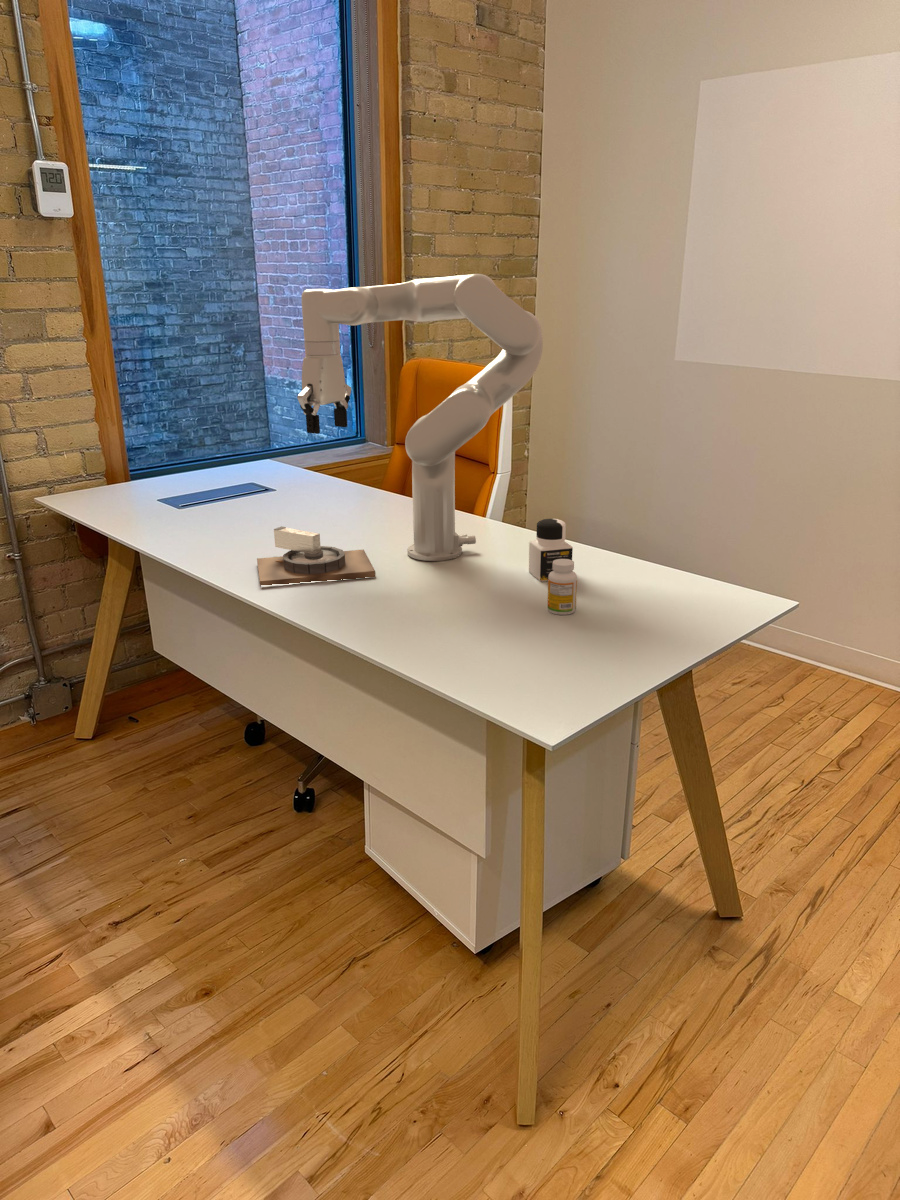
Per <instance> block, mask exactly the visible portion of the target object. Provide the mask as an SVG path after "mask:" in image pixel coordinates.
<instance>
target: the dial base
mask: <svg viewBox="0 0 900 1200" xmlns="http://www.w3.org/2000/svg"><path fill="white" fill-rule="evenodd" d="M320 546H321V550H328V551H332V552H335V553H336V554H337V557H336V558H335V559H332V560H328V561H324V562H315V563H303V562H295V561H293V560H291V556H292V555H294V554H296V553H299V551H294V550H288V551H287V552H286V553H284V554H283V555H282V556H270V557H260V558H258V557H257V558H256V561H257V563H256V564H257V571H259V572H258V579H260V580H259V585H272V584H289V583H300V582H311V581H327V580H341V579H342V580H343V579H354V580H357V579H356V578H364V579H366V578H365V577H375V578H376V570H375V567H374V566H373V564H372V563H371V561H370V558H369V557H368V555H367V552H366V551H365V549H354V550H343V549H340V548H337V547H336V546H329V545H328V546H327V545H326V546H325V545H320ZM343 581H344V580H343Z"/></svg>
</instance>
